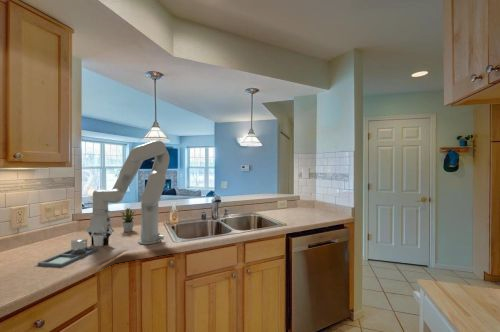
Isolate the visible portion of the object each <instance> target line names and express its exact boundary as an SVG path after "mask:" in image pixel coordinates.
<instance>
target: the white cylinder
mask: <svg viewBox="0 0 500 332" xmlns="http://www.w3.org/2000/svg"><path fill="white" fill-rule="evenodd" d="M106 235H107V234H106ZM104 238H105V237H104V235H103V233H96V234H93V241H94V245H93V246H94V247H102V246H104V245H103V240H104Z"/></svg>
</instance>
